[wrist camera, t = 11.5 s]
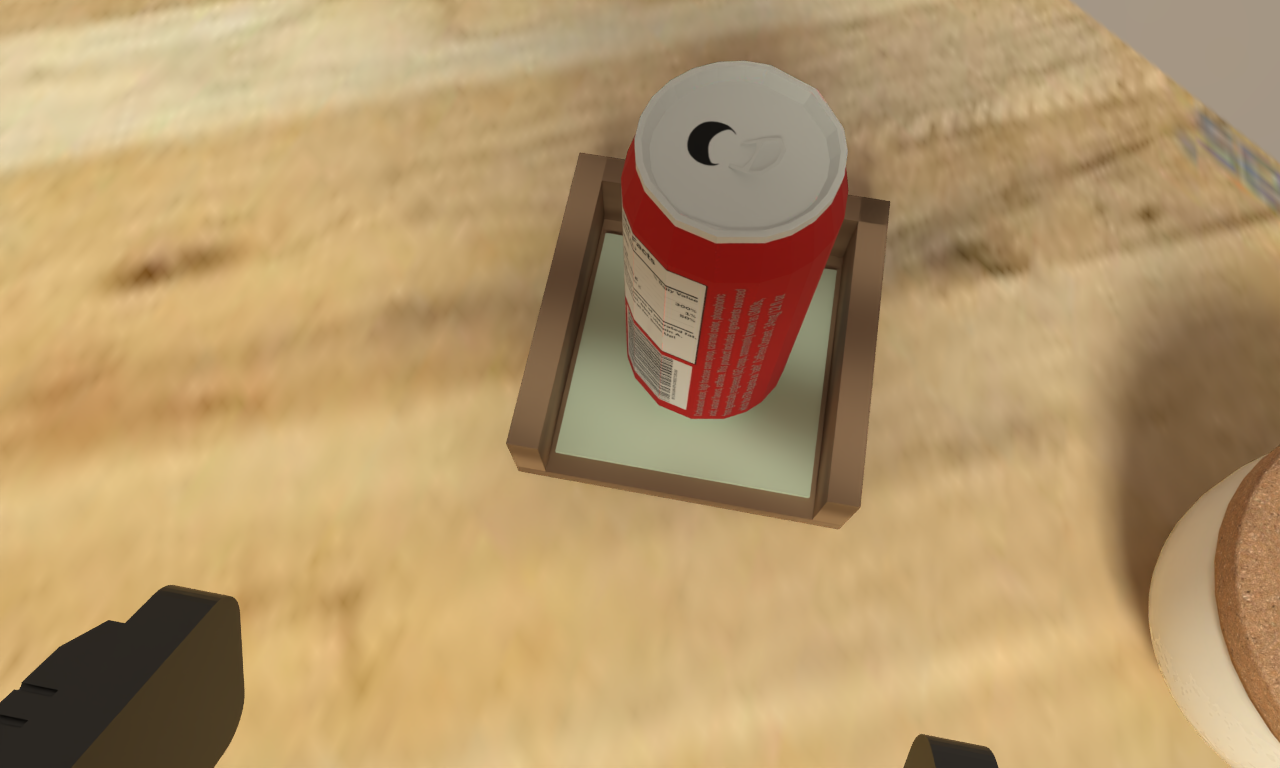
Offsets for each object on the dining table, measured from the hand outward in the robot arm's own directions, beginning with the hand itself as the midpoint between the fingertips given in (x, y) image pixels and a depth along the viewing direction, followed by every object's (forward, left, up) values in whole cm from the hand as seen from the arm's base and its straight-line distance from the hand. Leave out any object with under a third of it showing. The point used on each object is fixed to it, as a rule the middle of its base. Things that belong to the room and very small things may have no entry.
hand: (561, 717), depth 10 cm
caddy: (-8, +10, -18) cm, 22 cm away
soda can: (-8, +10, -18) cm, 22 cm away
